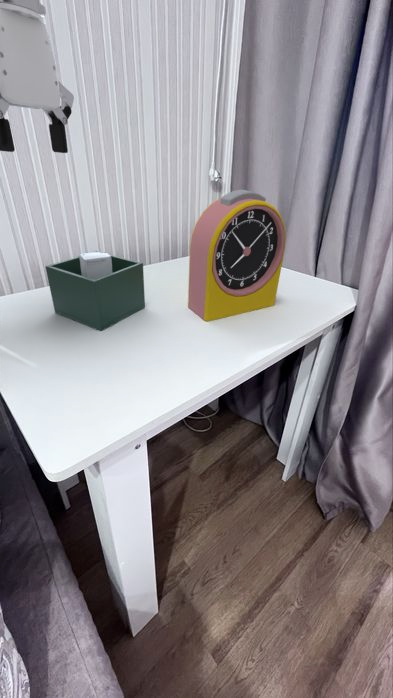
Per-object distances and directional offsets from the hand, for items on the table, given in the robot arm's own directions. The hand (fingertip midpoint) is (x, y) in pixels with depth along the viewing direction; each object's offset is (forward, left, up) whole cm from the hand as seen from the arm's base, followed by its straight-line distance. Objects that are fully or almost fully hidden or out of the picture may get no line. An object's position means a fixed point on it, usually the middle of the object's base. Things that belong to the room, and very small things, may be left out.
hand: (35, 151), depth 53 cm
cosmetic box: (+10, +1, -32) cm, 33 cm away
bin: (+10, +1, -32) cm, 34 cm away
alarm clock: (+31, -23, -33) cm, 51 cm away
